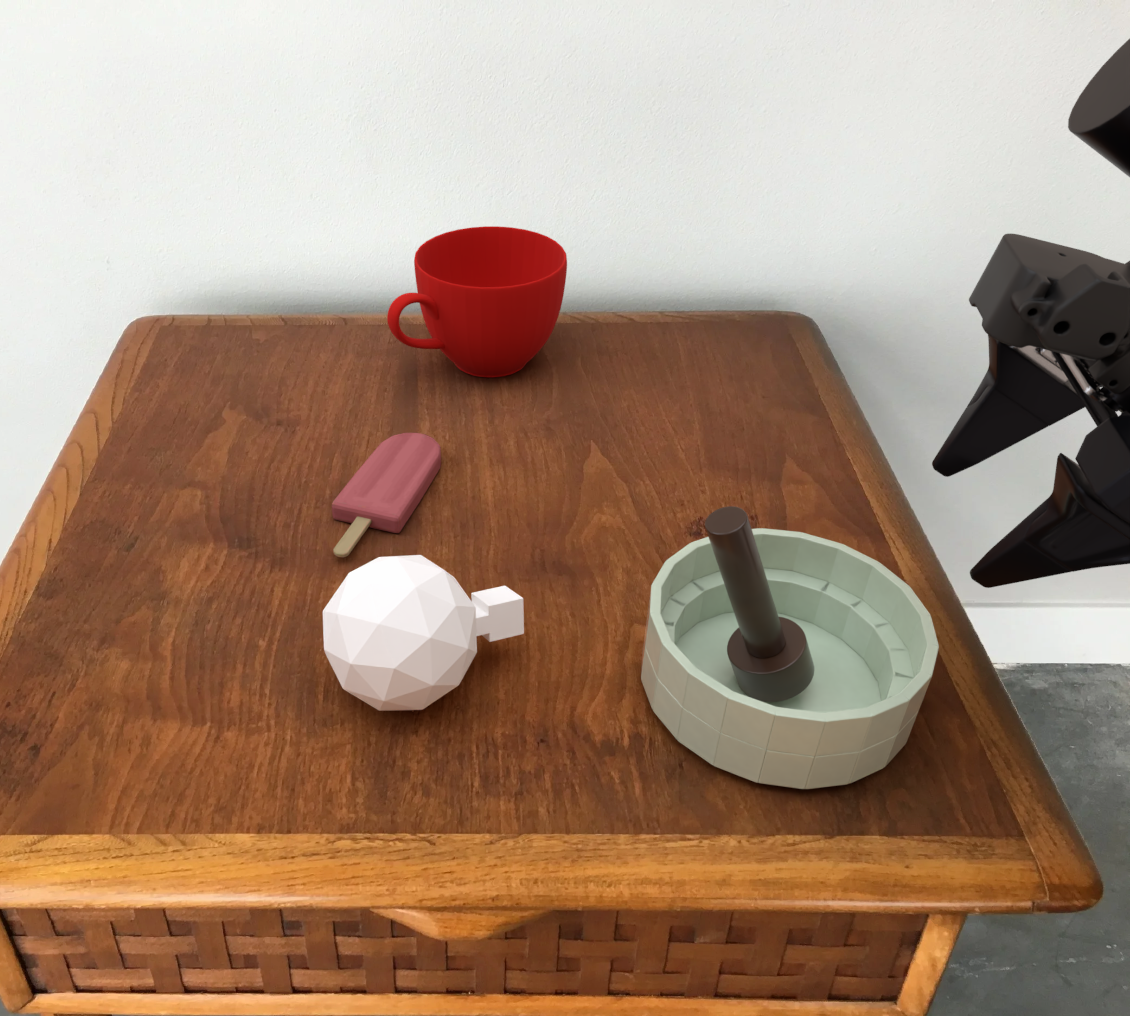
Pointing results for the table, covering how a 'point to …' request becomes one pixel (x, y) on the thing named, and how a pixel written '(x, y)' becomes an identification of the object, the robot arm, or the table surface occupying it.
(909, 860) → the table surface
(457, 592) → the perfume bottle
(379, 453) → the popsicle
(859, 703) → the bowl
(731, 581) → the pestle
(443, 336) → the ceramic cup
